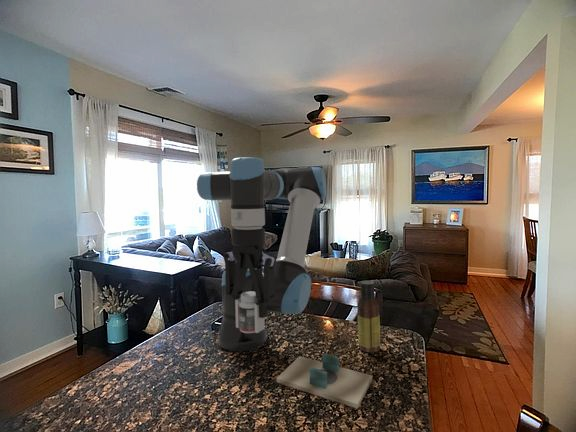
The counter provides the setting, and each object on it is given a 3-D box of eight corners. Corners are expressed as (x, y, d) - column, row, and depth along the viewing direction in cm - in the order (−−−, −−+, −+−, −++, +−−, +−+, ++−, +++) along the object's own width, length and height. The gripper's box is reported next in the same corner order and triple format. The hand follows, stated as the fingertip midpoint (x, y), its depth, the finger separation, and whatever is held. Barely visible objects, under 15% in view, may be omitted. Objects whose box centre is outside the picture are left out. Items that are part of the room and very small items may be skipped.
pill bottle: (237, 327, 75) (236, 292, 74) (256, 323, 77) (256, 289, 76) (242, 335, 71) (241, 298, 70) (262, 331, 72) (262, 295, 72)
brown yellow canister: (378, 344, 96) (378, 279, 95) (382, 354, 90) (382, 285, 89) (356, 343, 97) (356, 278, 95) (358, 353, 91) (358, 284, 89)
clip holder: (276, 382, 77) (276, 364, 77) (299, 359, 88) (299, 343, 87) (357, 408, 68) (357, 388, 67) (372, 379, 78) (372, 361, 78)
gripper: (207, 227, 73) (210, 325, 75) (271, 231, 64) (273, 343, 66) (229, 224, 80) (231, 315, 82) (290, 227, 71) (291, 330, 72)
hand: (250, 327), depth 74 cm, fingers closed on pill bottle, 5 cm apart
